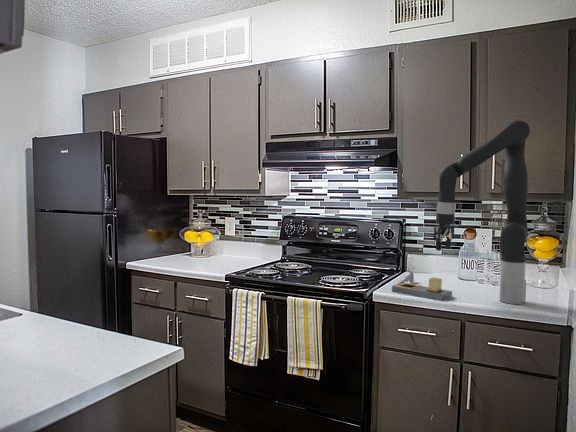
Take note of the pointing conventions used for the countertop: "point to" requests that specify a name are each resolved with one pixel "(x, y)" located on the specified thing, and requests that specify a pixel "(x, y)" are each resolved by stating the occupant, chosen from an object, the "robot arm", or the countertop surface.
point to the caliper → (407, 278)
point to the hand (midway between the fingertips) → (443, 249)
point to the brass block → (435, 285)
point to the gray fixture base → (421, 291)
